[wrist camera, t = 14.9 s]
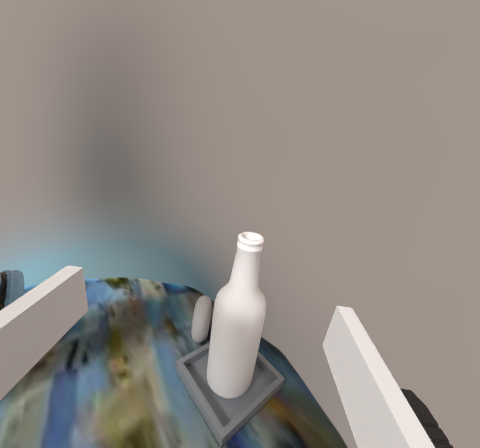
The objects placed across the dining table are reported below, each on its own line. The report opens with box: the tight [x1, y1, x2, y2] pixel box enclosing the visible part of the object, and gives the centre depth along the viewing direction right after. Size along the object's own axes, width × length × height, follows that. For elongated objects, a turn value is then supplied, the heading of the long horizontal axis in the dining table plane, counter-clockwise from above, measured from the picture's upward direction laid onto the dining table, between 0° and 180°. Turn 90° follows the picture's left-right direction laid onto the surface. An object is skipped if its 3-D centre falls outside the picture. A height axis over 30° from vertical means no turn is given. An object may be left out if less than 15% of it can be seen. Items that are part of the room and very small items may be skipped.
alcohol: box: [206, 232, 266, 399], centre depth 38 cm, size 9×9×30 cm
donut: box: [191, 296, 212, 343], centre depth 50 cm, size 10×4×10 cm, turn 179°
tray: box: [175, 342, 285, 448], centre depth 43 cm, size 15×15×2 cm
